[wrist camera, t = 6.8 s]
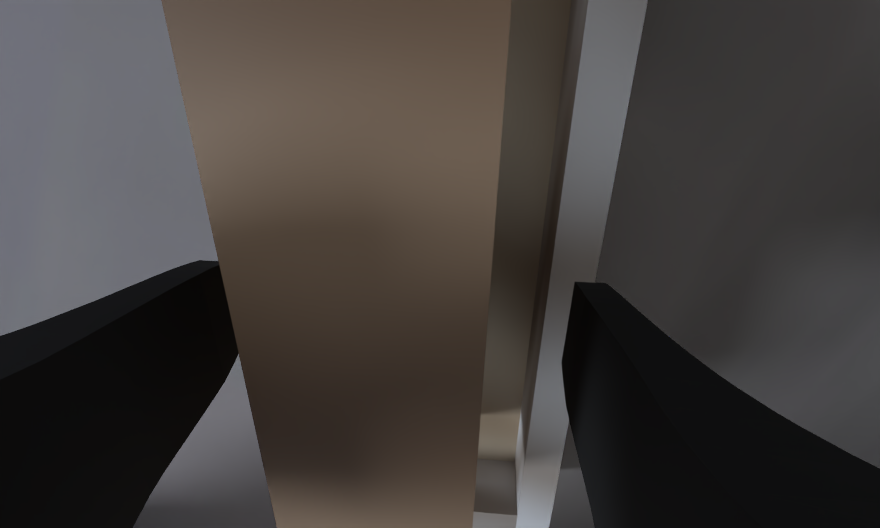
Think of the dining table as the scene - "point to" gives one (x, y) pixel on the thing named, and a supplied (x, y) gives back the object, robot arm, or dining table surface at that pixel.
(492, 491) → the door track
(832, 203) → the dining table surface
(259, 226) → the brown rectangular block
